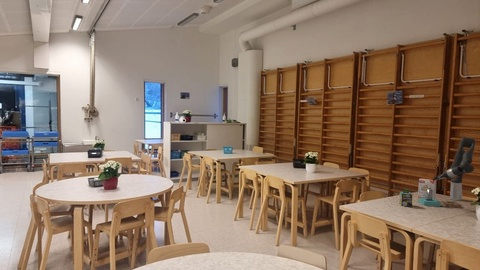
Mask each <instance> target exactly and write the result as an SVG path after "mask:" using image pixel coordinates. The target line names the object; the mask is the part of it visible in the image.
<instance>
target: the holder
mask: <svg viewBox="0 0 480 270" xmlns="http://www.w3.org/2000/svg"><path fill="white" fill-rule="evenodd" d="M440 202H441V206H444V207H446V208H454V209H455V208H456V209H461V208H462V204H461V203H458V202H456V201H455V200H454V201H452V200H451V201H450V200H440Z"/></svg>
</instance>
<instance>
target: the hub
mask: <svg viewBox="0 0 480 270" xmlns="http://www.w3.org/2000/svg"><path fill="white" fill-rule="evenodd" d="M418 203H419V204H421V205H422V206H424V207H425V206H426V207H441V206H442V204H441V201H439V200H437V199H436V198H435V199H432V201H427V198H419V199H418Z"/></svg>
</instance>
